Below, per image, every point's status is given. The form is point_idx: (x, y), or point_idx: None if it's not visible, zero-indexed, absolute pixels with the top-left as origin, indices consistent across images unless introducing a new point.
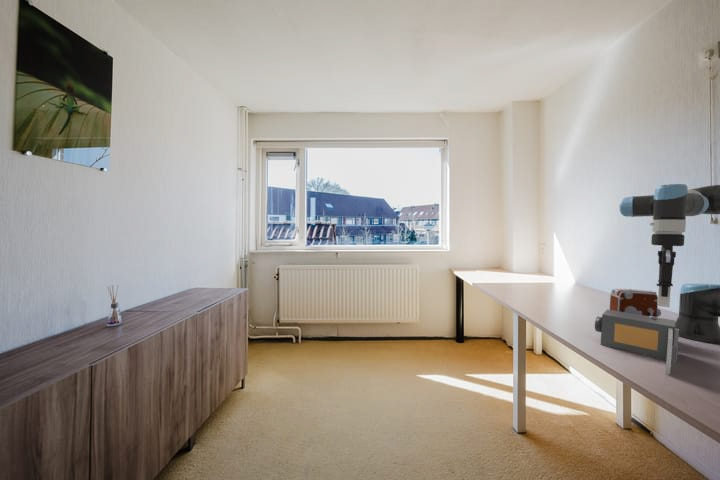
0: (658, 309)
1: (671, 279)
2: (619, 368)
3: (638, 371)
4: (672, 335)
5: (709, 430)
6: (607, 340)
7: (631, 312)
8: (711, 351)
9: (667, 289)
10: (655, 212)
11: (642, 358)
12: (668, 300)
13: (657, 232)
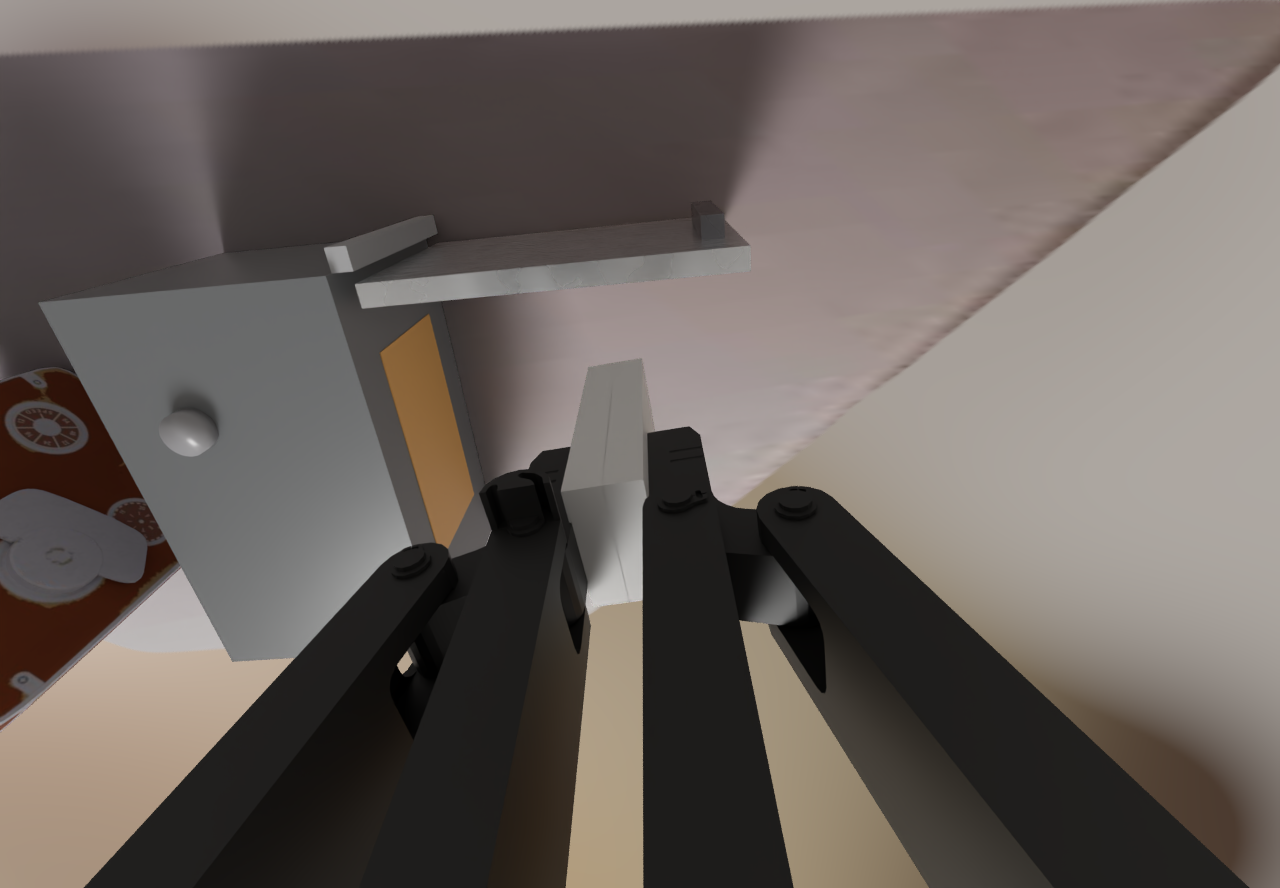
0: None
1: (897, 562)
2: (804, 396)
3: (775, 331)
4: (614, 259)
5: None
6: (480, 517)
7: (61, 554)
8: None
9: (708, 486)
10: None
11: (531, 351)
12: (644, 399)
13: None
